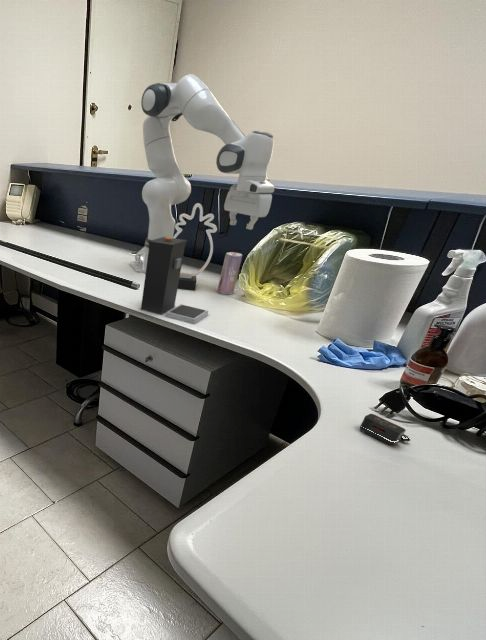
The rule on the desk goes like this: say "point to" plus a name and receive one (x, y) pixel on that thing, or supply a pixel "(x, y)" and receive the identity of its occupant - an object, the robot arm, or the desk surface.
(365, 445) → the desk surface
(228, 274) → the beverage can
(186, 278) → the lamp
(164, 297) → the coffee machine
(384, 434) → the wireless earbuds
